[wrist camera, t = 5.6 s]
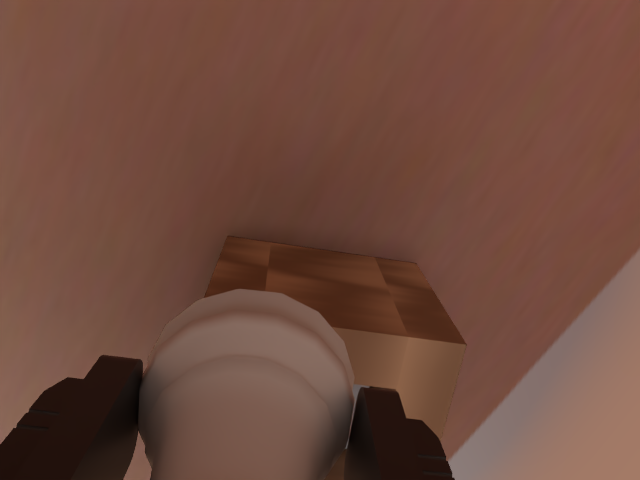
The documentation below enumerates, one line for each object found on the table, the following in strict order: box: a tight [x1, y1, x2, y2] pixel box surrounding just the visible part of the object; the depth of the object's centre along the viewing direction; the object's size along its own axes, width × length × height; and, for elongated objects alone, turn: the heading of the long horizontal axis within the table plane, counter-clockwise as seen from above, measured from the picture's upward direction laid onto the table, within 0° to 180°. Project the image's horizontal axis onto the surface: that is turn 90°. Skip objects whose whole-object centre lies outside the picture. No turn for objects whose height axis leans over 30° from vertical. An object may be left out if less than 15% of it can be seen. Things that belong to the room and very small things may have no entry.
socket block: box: [204, 236, 467, 480], centre depth 26 cm, size 10×10×9 cm
